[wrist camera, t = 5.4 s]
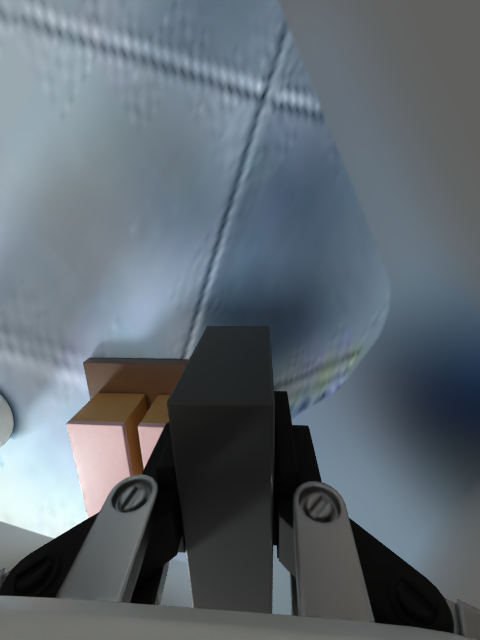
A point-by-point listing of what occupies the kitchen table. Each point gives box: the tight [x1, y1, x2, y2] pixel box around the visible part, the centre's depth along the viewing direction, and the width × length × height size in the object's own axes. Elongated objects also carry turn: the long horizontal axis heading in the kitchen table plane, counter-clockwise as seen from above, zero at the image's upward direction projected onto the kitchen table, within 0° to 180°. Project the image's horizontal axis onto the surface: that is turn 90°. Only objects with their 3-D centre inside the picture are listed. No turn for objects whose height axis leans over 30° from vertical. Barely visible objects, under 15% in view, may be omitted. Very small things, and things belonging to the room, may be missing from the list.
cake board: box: [83, 358, 189, 412], centre depth 27 cm, size 14×12×1 cm
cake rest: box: [66, 393, 147, 518], centre depth 25 cm, size 10×4×4 cm, turn 1°
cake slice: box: [138, 395, 170, 468], centre depth 25 cm, size 10×4×4 cm, turn 1°
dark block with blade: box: [167, 326, 275, 614], centre depth 11 cm, size 16×2×5 cm, turn 1°
